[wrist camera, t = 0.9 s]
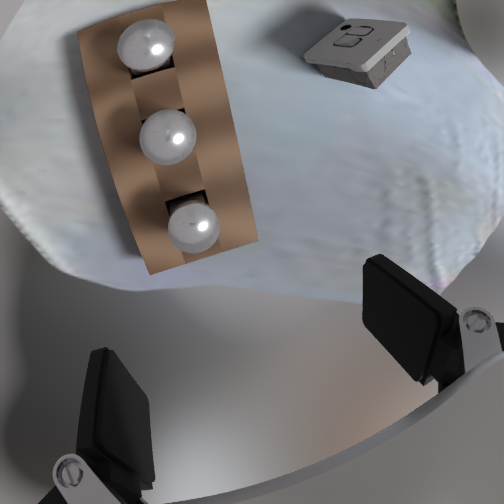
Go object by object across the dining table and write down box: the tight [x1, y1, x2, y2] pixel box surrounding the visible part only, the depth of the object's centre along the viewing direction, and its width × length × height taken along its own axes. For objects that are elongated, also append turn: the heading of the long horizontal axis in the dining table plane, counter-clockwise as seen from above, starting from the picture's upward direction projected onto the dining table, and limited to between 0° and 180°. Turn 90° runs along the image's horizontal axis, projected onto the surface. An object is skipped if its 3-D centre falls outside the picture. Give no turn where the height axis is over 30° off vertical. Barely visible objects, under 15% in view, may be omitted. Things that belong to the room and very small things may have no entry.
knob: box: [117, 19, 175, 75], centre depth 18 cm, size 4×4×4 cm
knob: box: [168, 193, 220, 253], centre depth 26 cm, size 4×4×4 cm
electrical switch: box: [303, 19, 411, 89], centre depth 23 cm, size 9×5×9 cm, turn 136°
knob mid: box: [139, 109, 196, 165], centre depth 22 cm, size 4×4×4 cm
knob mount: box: [77, 0, 259, 275], centre depth 25 cm, size 26×12×4 cm, turn 12°
